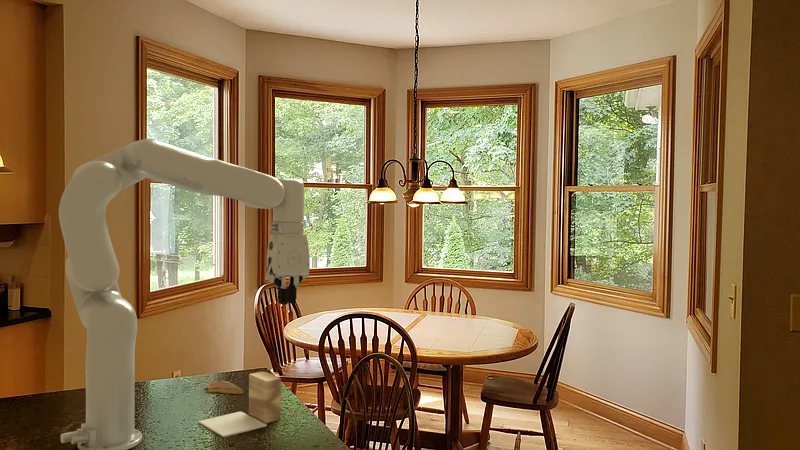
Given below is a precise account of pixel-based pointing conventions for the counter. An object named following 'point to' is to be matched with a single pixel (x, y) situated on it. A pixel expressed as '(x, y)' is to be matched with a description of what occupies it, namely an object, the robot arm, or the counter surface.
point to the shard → (224, 387)
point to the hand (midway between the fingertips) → (287, 303)
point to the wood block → (265, 396)
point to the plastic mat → (232, 424)
